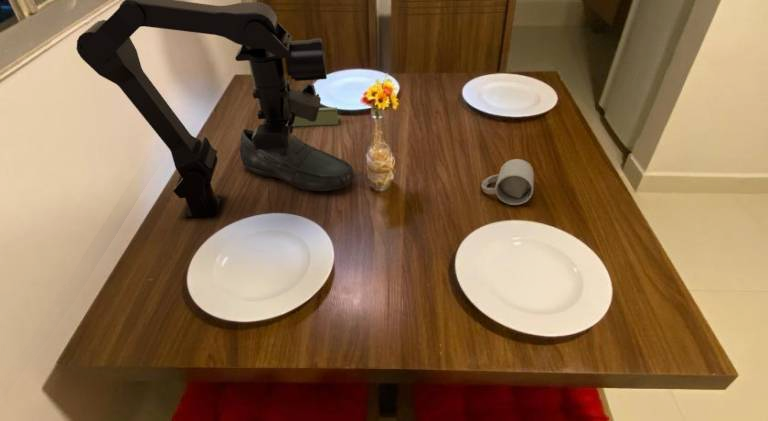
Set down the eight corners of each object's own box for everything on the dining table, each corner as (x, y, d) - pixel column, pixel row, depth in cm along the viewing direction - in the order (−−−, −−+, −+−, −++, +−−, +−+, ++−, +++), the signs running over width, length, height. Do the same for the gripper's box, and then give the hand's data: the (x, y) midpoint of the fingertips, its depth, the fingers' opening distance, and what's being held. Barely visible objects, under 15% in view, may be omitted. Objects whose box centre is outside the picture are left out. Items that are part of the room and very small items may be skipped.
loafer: (345, 201, 96) (341, 163, 90) (231, 178, 104) (220, 140, 97) (362, 175, 104) (360, 137, 97) (254, 154, 111) (245, 118, 104)
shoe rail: (337, 124, 122) (336, 109, 119) (272, 127, 121) (269, 112, 118) (338, 120, 124) (336, 105, 121) (273, 122, 123) (270, 107, 120)
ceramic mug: (531, 185, 99) (537, 156, 95) (529, 208, 94) (536, 178, 89) (483, 178, 102) (487, 150, 97) (478, 200, 96) (482, 171, 91)
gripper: (311, 103, 72) (321, 180, 82) (318, 59, 86) (326, 129, 96) (242, 106, 72) (261, 183, 82) (260, 61, 86) (274, 131, 96)
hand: (284, 154), depth 89 cm, fingers closed
